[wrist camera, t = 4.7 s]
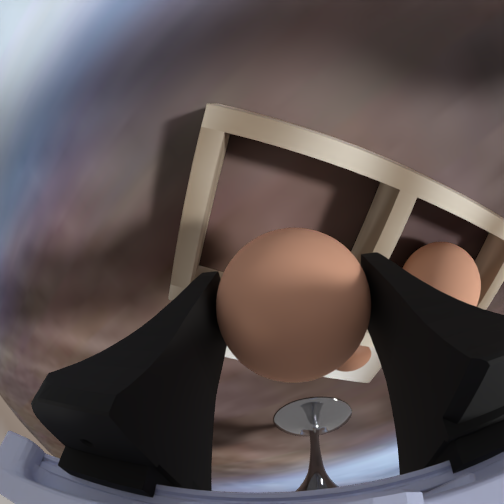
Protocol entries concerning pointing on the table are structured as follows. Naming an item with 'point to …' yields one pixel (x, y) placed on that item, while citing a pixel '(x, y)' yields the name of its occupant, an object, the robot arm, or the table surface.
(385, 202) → the rack
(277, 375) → the loose ball
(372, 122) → the table surface
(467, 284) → the ball
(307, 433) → the wine glass
